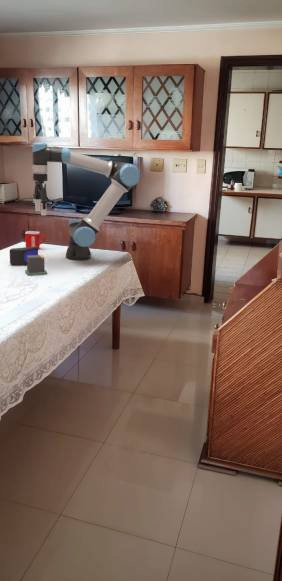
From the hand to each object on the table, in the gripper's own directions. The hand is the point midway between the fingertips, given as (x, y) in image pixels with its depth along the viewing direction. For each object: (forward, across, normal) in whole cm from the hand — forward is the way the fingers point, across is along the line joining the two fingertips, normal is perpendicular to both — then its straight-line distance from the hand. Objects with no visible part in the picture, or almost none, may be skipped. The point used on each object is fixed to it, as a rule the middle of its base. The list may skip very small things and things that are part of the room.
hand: (40, 213), depth 245 cm
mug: (+29, -36, +5) cm, 46 cm away
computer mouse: (+29, -3, -9) cm, 31 cm away
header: (+29, +17, -7) cm, 34 cm away
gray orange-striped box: (+28, +17, -7) cm, 33 cm away
